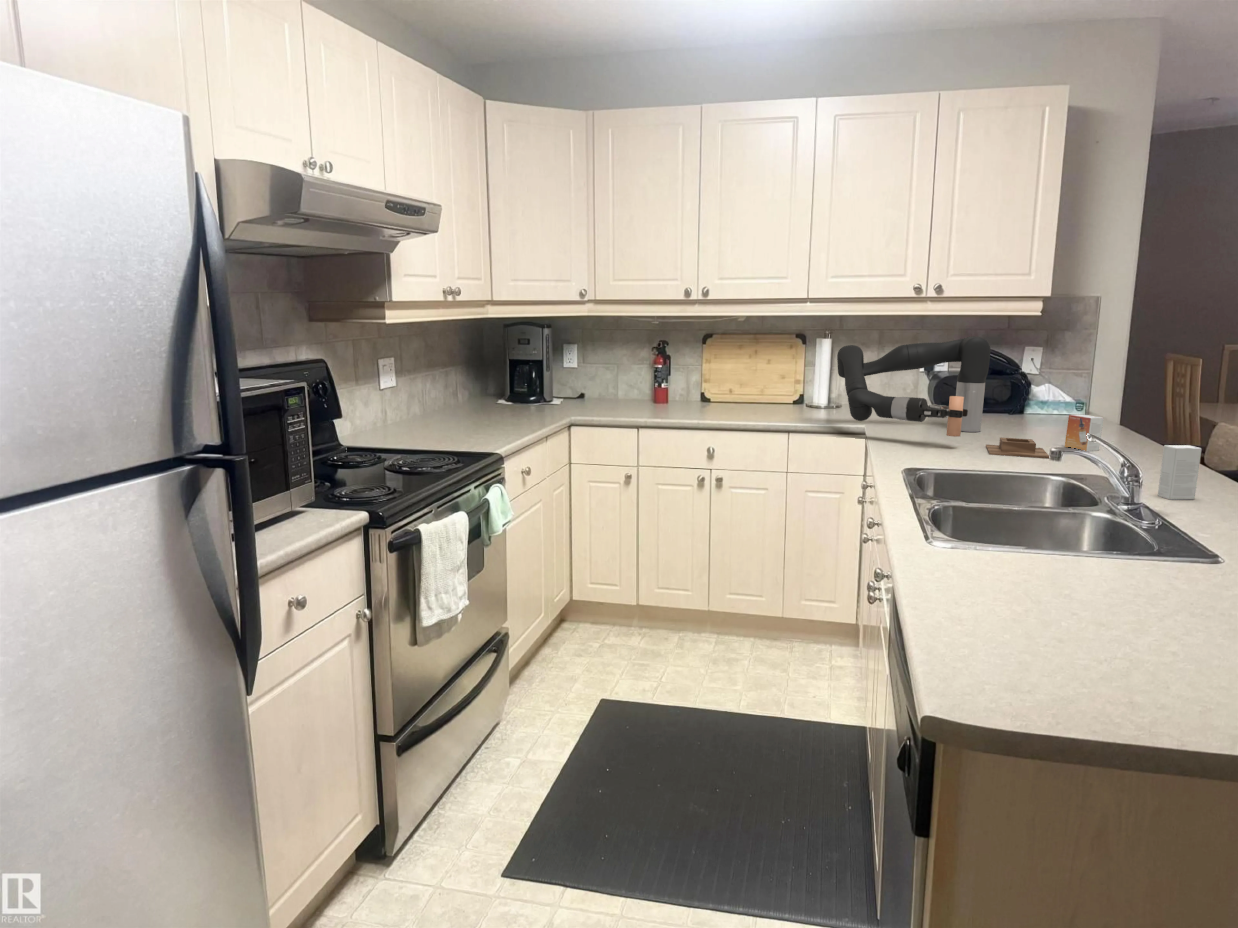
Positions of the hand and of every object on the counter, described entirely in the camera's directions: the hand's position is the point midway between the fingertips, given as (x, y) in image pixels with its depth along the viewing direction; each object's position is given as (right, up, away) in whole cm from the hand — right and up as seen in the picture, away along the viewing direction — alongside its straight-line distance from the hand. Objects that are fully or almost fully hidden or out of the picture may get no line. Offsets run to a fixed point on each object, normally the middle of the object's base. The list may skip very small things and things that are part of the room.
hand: (964, 413), depth 243 cm
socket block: (+15, -12, -1) cm, 19 cm away
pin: (-2, -7, +3) cm, 8 cm away
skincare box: (+23, -23, -60) cm, 68 cm away
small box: (+40, -11, +7) cm, 42 cm away
